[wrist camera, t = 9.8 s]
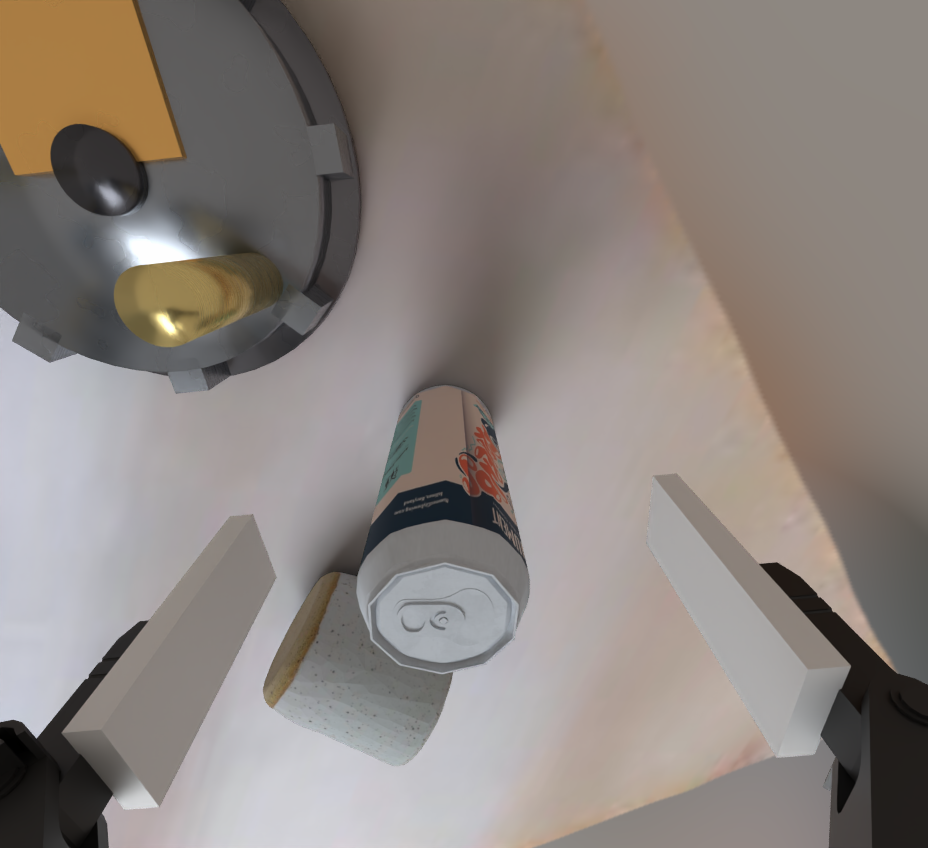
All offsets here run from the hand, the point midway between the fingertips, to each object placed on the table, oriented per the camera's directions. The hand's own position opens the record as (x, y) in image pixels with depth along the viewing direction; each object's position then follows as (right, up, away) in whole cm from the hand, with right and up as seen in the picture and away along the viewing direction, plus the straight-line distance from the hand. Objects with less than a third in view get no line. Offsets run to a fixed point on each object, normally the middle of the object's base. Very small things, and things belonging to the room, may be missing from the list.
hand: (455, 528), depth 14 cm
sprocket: (-12, +13, +3) cm, 18 cm away
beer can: (-1, +3, +8) cm, 9 cm away
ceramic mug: (-6, -9, +13) cm, 17 cm away
